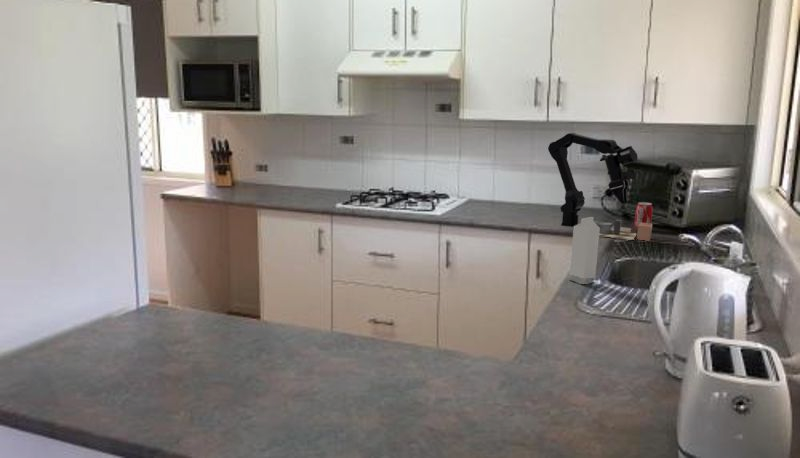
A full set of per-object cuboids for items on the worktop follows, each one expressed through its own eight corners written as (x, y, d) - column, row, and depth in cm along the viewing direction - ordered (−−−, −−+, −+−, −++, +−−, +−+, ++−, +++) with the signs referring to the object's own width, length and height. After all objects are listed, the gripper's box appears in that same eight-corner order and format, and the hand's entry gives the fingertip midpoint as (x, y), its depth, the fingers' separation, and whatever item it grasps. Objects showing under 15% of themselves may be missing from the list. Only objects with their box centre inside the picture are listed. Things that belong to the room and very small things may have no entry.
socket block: (636, 240, 284) (638, 225, 283) (638, 236, 290) (639, 222, 289) (649, 241, 282) (650, 226, 281) (650, 238, 288) (652, 223, 287)
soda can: (651, 231, 300) (654, 205, 297) (635, 230, 301) (637, 204, 298) (649, 228, 307) (652, 202, 304) (633, 227, 308) (635, 201, 305)
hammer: (586, 230, 294) (587, 217, 293) (588, 228, 297) (589, 216, 295) (630, 235, 287) (631, 222, 285) (630, 233, 289) (632, 221, 288)
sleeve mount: (577, 234, 292) (578, 223, 291) (582, 229, 302) (583, 218, 301) (633, 241, 283) (634, 229, 282) (636, 235, 292) (637, 224, 291)
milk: (594, 282, 226) (601, 218, 221) (582, 285, 223) (589, 220, 217) (580, 278, 231) (586, 214, 226) (568, 280, 227) (574, 216, 222)
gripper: (630, 161, 278) (641, 198, 277) (635, 163, 295) (645, 197, 294) (603, 169, 283) (614, 205, 282) (610, 170, 300) (620, 204, 299)
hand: (624, 203), depth 289 cm, fingers open, 9 cm apart
